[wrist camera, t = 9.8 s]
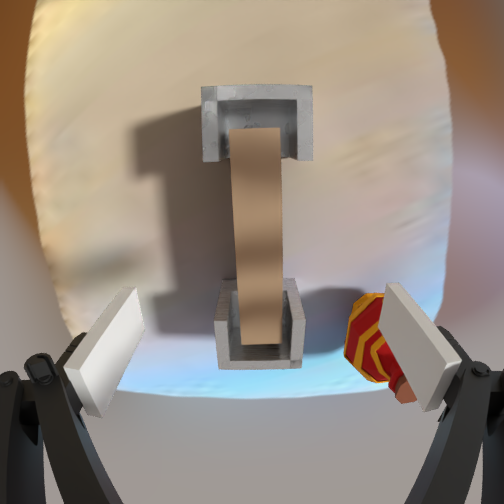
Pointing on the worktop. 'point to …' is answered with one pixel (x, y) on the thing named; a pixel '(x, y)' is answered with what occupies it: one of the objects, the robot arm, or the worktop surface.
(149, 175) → the worktop surface
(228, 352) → the bracket
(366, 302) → the potion bottle
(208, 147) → the bracket
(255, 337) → the rail
